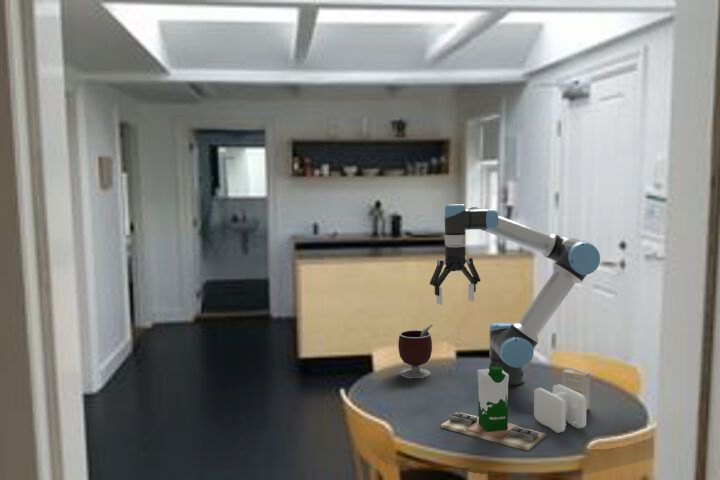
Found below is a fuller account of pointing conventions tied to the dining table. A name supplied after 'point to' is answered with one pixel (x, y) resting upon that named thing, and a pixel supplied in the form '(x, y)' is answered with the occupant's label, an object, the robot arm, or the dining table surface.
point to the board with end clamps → (509, 437)
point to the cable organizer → (560, 408)
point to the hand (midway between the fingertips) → (455, 302)
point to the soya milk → (493, 398)
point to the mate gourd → (415, 351)
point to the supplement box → (577, 382)
